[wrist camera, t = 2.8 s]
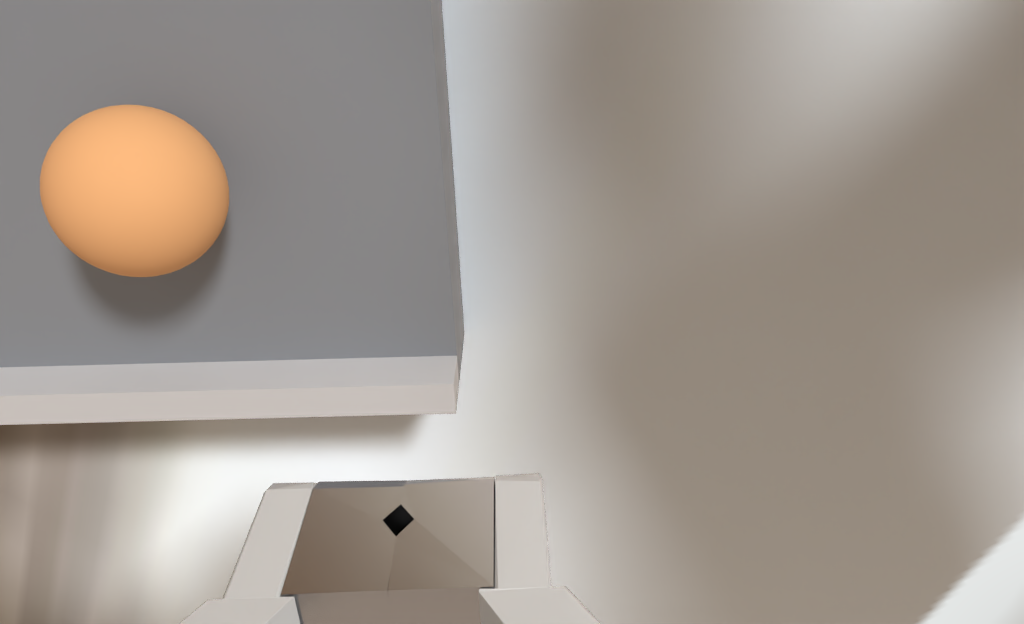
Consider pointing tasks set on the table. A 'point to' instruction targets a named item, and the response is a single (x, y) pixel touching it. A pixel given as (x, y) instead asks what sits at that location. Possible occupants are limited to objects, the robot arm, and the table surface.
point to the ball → (134, 190)
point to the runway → (240, 214)
